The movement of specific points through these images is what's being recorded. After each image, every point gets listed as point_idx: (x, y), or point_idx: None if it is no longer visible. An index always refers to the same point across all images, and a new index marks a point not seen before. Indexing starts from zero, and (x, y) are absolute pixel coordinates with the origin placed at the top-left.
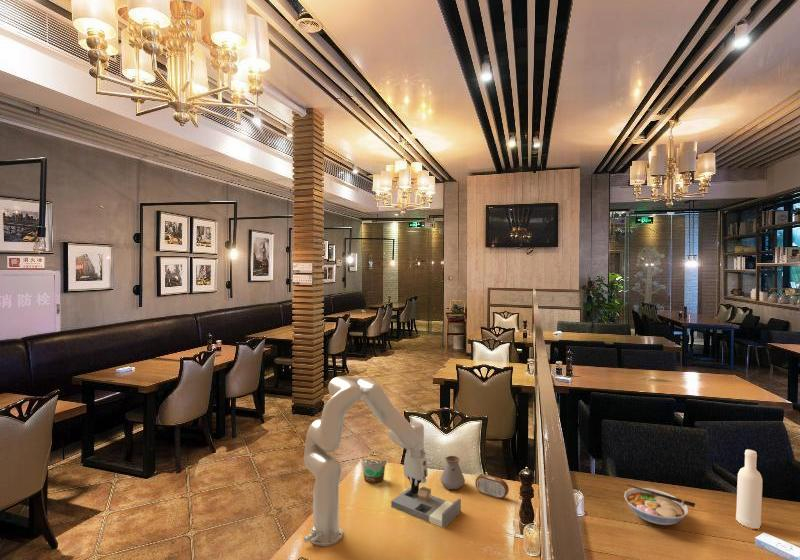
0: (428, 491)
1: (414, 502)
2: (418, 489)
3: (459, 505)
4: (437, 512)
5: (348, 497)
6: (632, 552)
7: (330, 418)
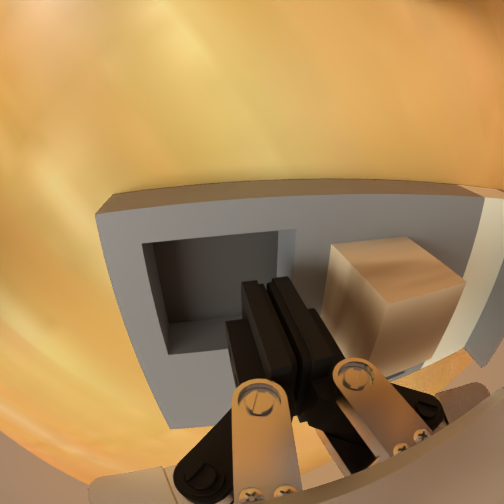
0: (444, 320)
1: None
2: (318, 322)
3: None
4: (452, 326)
5: (5, 415)
6: None
7: None
